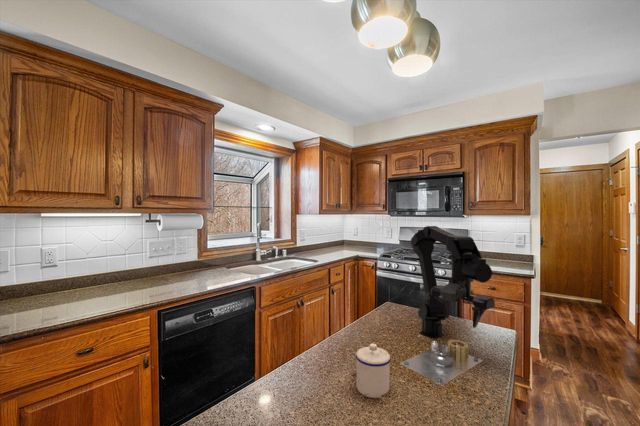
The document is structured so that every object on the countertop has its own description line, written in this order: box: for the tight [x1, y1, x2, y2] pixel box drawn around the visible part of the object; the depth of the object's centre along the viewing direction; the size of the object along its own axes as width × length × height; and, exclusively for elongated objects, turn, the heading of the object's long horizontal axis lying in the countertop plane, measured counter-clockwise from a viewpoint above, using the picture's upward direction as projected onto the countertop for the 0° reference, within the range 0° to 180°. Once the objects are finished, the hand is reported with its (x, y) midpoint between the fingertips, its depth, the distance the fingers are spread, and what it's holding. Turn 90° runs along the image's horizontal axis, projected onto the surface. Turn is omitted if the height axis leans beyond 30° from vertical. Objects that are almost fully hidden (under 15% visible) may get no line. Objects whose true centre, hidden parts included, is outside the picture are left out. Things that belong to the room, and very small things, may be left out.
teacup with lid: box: [354, 343, 391, 399], centre depth 79 cm, size 12×9×12 cm
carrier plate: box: [399, 339, 484, 386], centre depth 90 cm, size 14×23×4 cm, turn 126°
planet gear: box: [447, 339, 469, 361], centre depth 94 cm, size 6×6×4 cm
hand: (460, 322), depth 95 cm, fingers open, 9 cm apart
